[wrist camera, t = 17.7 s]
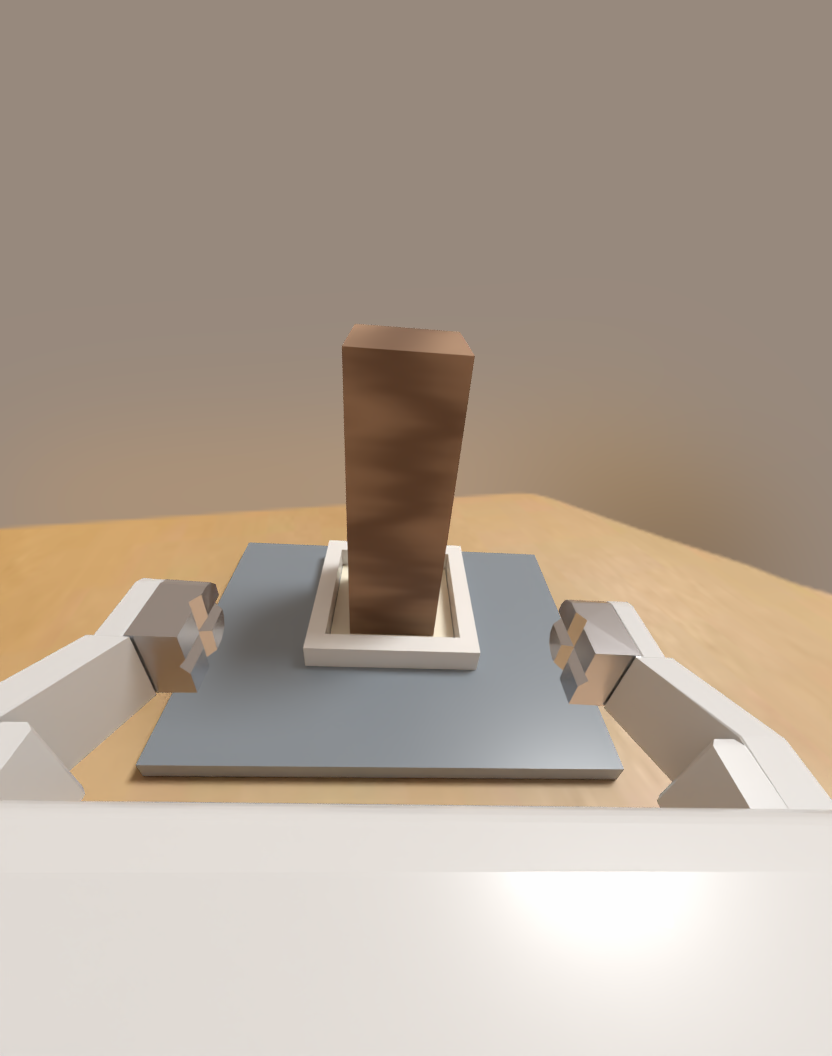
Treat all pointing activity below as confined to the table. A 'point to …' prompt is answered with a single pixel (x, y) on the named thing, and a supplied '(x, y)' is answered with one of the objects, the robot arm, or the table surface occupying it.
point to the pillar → (401, 470)
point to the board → (379, 691)
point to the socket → (391, 649)
